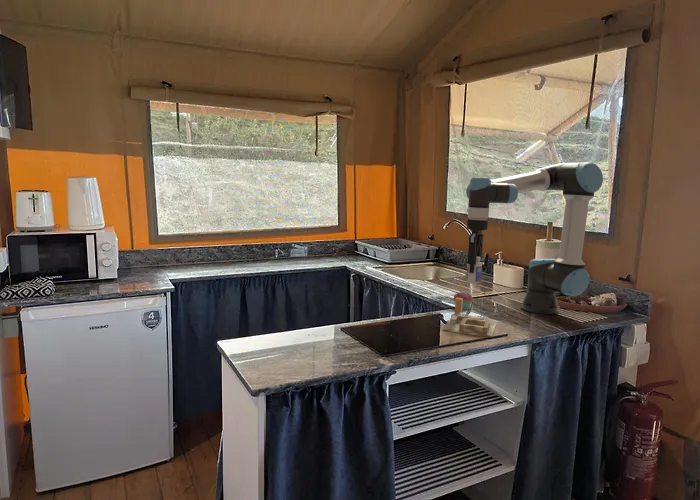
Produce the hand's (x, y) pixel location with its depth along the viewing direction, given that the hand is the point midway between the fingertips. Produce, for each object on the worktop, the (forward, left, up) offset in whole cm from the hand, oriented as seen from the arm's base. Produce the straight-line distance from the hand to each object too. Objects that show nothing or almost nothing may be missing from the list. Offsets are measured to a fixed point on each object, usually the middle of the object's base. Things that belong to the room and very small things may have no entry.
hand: (473, 279), depth 183 cm
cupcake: (+7, -29, -19) cm, 36 cm away
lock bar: (+6, +1, -16) cm, 17 cm away
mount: (0, -1, -19) cm, 19 cm away
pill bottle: (0, 0, -1) cm, 1 cm away
